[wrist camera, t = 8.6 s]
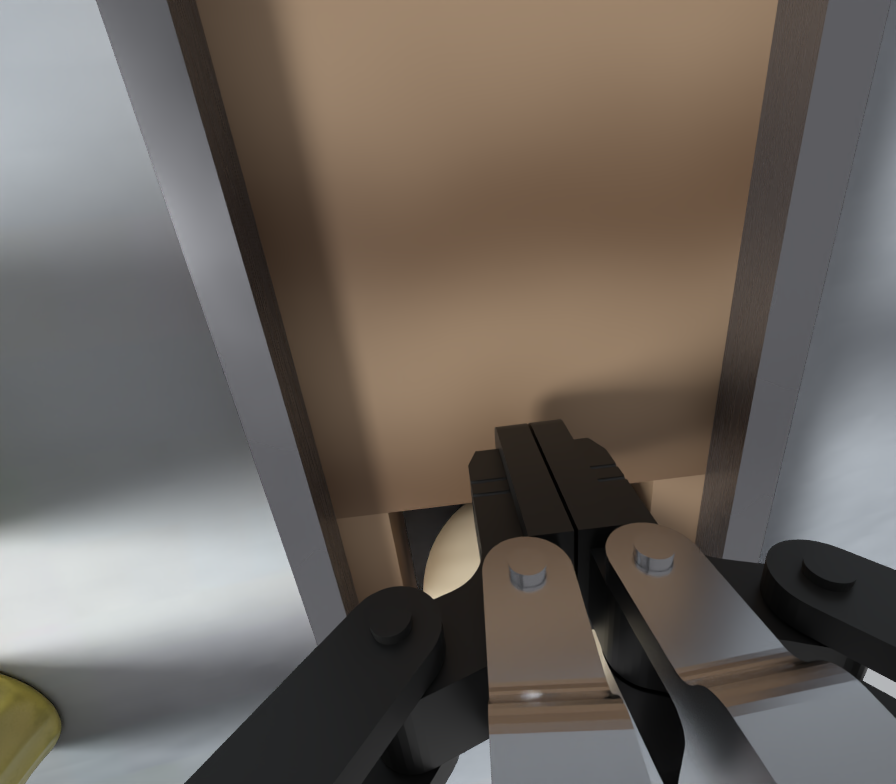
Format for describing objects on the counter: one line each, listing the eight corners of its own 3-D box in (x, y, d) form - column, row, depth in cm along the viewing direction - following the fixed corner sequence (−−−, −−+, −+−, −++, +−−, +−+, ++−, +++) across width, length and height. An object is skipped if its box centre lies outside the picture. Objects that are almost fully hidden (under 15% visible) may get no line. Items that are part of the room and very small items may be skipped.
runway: (119, -250, 8) (-98, -563, 5) (791, -333, 8) (1056, -704, 5) (376, 681, 19) (367, 789, 16) (663, 646, 19) (714, 746, 16)
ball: (441, 690, 15) (417, 505, 17) (619, 660, 15) (578, 480, 17) (435, 793, 9) (399, 493, 11) (722, 742, 9) (643, 455, 11)
